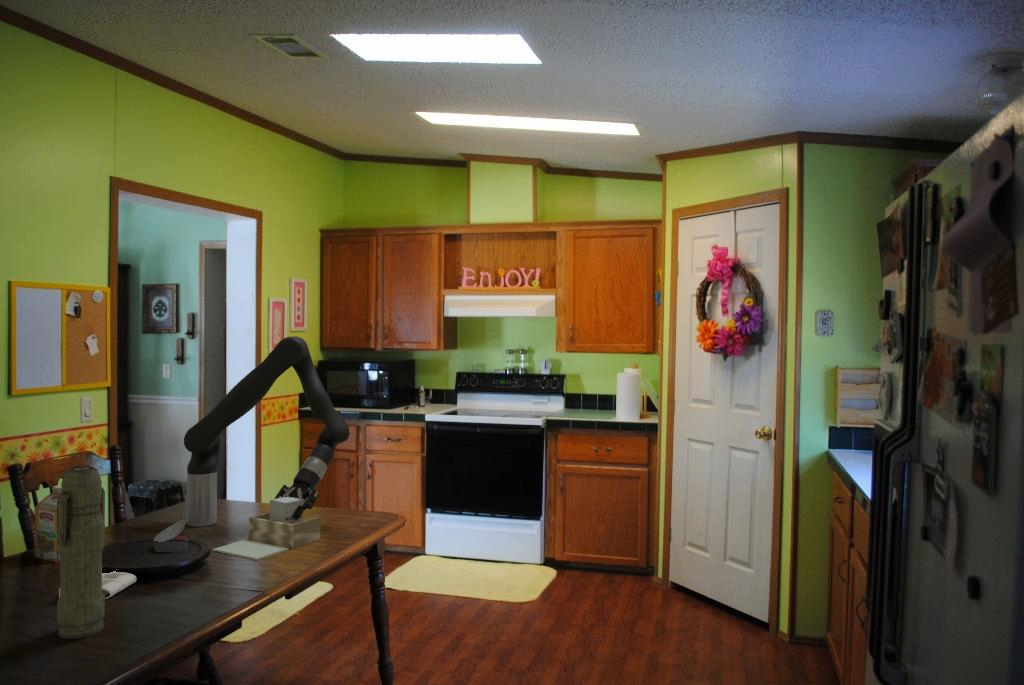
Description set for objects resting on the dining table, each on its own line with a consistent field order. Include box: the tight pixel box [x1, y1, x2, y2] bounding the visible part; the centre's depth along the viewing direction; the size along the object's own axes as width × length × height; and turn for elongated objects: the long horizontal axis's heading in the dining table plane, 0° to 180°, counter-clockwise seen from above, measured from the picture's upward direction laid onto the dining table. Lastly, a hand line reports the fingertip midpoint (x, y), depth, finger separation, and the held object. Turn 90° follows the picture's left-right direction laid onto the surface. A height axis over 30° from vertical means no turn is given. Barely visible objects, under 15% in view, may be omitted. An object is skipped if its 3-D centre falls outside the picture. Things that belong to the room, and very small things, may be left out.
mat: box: [212, 539, 289, 561], centre depth 226 cm, size 18×12×1 cm, turn 62°
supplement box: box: [269, 496, 304, 524], centre depth 238 cm, size 7×7×13 cm
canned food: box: [153, 518, 191, 542], centre depth 227 cm, size 11×10×10 cm
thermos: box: [56, 465, 106, 640], centre depth 164 cm, size 9×12×35 cm
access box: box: [248, 511, 321, 550], centre depth 237 cm, size 18×12×7 cm, turn 62°
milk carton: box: [34, 486, 61, 563], centre depth 219 cm, size 11×11×19 cm
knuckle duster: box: [58, 571, 137, 600], centre depth 190 cm, size 3×18×15 cm
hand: (284, 516), depth 237 cm, fingers closed on supplement box, 8 cm apart
